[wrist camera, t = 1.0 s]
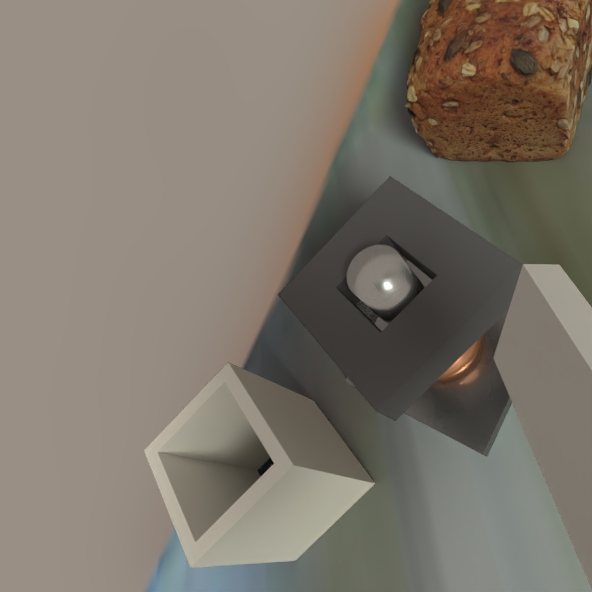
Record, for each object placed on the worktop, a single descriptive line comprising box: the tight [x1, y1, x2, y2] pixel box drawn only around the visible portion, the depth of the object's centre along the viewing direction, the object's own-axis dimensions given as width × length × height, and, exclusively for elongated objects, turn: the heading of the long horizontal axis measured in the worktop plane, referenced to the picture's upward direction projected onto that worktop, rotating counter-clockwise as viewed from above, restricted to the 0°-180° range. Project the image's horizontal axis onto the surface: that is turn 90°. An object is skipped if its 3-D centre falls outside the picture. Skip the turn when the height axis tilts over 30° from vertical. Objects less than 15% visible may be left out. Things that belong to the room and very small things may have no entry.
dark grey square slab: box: [278, 176, 523, 421], centre depth 24 cm, size 9×9×2 cm
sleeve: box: [144, 362, 375, 568], centre depth 30 cm, size 7×7×10 cm
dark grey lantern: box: [345, 245, 512, 456], centre depth 27 cm, size 10×10×12 cm
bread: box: [405, 0, 592, 162], centre depth 34 cm, size 19×11×10 cm, turn 155°
